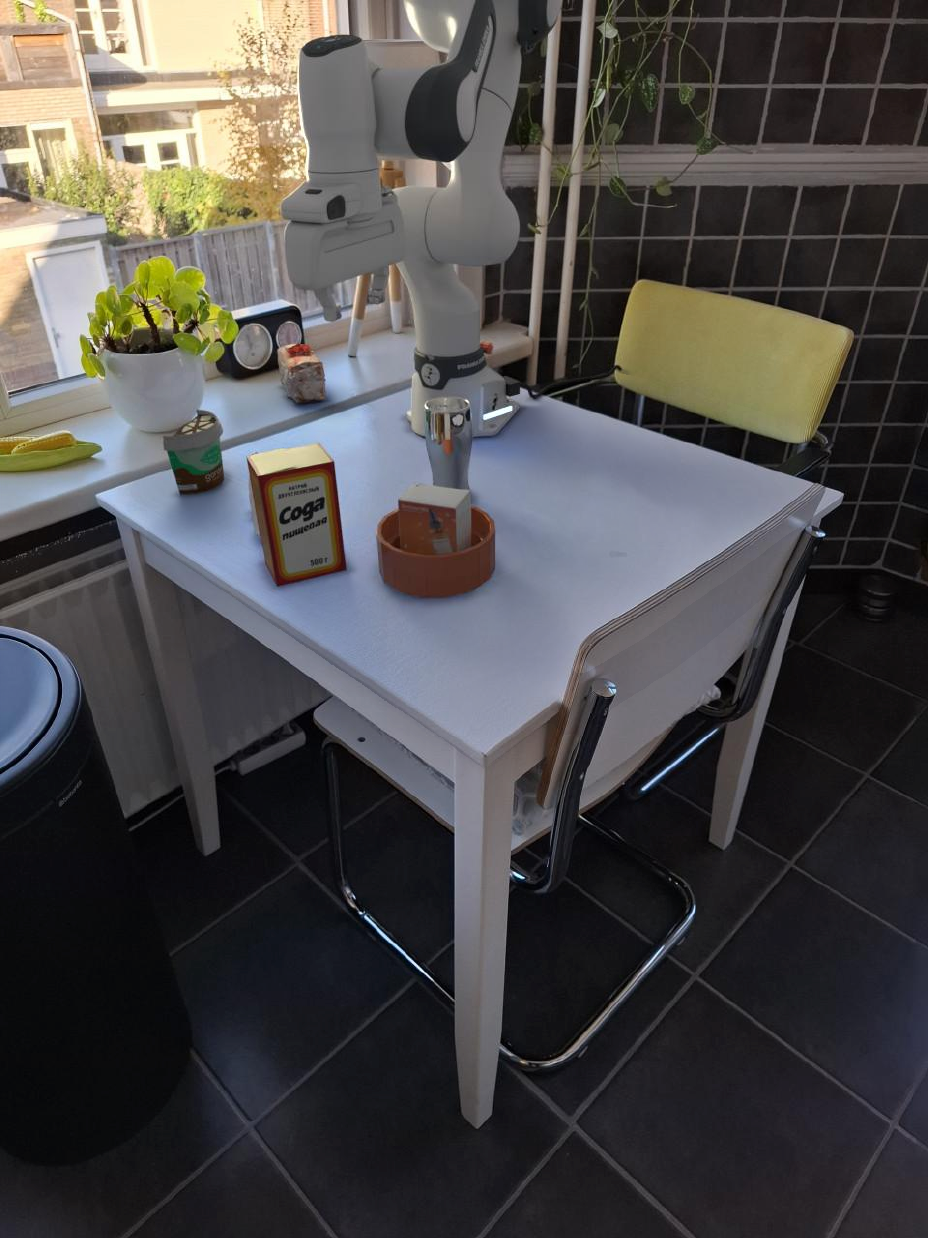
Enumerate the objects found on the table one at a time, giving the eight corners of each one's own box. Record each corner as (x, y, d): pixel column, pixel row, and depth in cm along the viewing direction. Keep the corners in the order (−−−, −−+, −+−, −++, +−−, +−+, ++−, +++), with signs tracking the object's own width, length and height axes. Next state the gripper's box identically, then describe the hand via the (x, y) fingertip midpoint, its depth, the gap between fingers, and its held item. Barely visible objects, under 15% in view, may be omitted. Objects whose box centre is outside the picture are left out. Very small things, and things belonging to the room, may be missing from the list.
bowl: (403, 537, 123) (400, 495, 120) (507, 550, 119) (507, 507, 116) (362, 592, 111) (358, 548, 108) (476, 609, 107) (475, 563, 104)
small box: (401, 572, 114) (395, 499, 108) (417, 551, 118) (413, 480, 112) (458, 581, 112) (455, 508, 106) (472, 560, 116) (471, 488, 110)
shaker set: (287, 545, 122) (275, 472, 116) (257, 549, 121) (243, 476, 115) (280, 508, 132) (270, 439, 125) (252, 511, 131) (240, 442, 125)
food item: (332, 401, 169) (326, 351, 164) (292, 408, 167) (285, 357, 161) (313, 381, 180) (307, 333, 174) (275, 387, 177) (268, 338, 172)
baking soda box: (332, 548, 121) (318, 440, 112) (346, 570, 116) (333, 458, 107) (265, 564, 118) (245, 453, 109) (277, 586, 113) (257, 473, 104)
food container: (211, 501, 134) (199, 440, 129) (175, 498, 135) (161, 437, 130) (244, 468, 144) (233, 410, 139) (209, 465, 145) (198, 408, 140)
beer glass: (479, 491, 135) (478, 397, 126) (465, 511, 129) (462, 414, 121) (437, 486, 137) (433, 393, 128) (421, 505, 131) (416, 409, 123)
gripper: (375, 182, 115) (383, 291, 123) (269, 205, 101) (286, 327, 108) (414, 184, 112) (420, 295, 120) (311, 209, 98) (325, 333, 106)
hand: (355, 311), depth 114 cm, fingers open, 8 cm apart
